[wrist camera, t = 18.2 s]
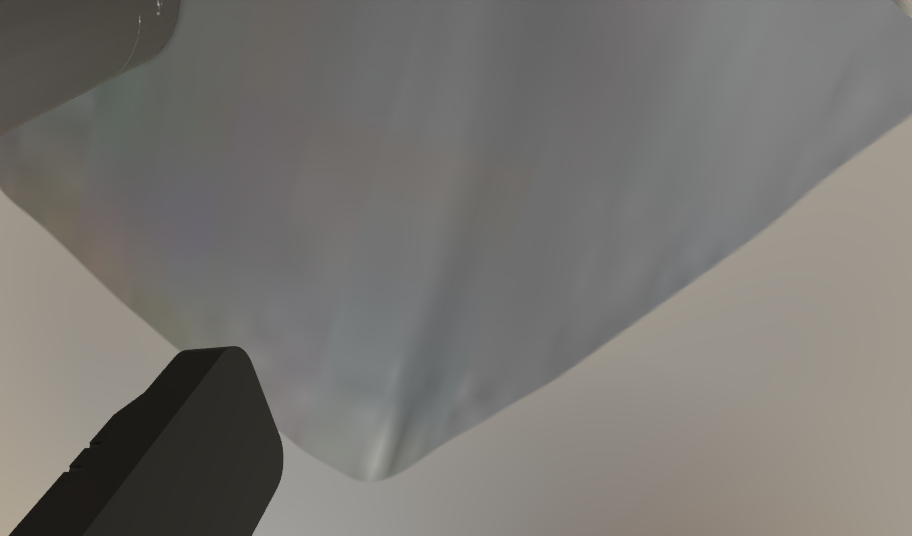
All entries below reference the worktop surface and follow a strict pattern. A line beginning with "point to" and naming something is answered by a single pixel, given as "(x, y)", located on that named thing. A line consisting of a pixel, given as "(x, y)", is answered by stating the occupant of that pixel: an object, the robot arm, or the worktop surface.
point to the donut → (904, 6)
